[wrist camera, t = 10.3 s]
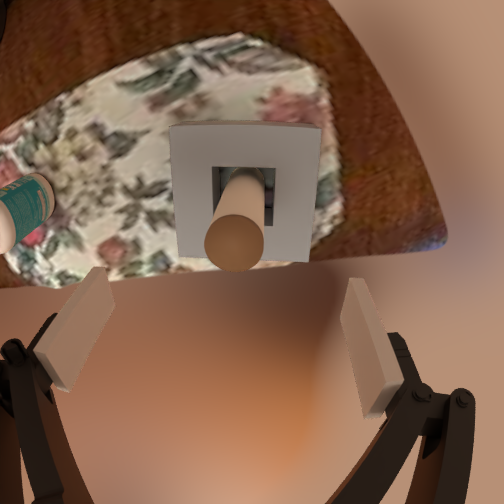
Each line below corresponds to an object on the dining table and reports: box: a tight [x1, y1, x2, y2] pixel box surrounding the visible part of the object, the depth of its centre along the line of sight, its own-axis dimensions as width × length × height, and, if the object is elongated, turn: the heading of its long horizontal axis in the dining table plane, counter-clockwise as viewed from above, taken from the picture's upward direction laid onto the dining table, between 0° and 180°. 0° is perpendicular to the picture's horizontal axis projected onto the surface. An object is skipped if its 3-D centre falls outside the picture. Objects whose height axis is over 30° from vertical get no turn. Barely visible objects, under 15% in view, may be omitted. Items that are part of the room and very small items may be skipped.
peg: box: [204, 167, 265, 272], centre depth 27 cm, size 4×4×15 cm
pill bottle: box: [0, 173, 54, 254], centre depth 29 cm, size 8×7×14 cm
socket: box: [169, 121, 322, 262], centre depth 31 cm, size 14×14×5 cm
